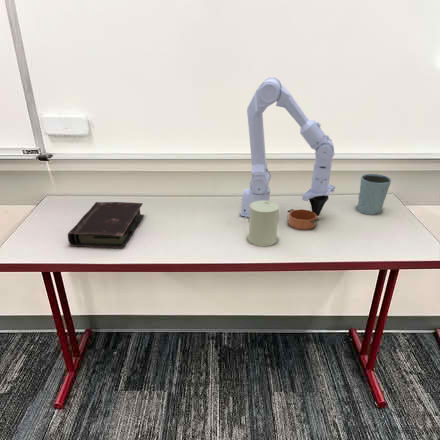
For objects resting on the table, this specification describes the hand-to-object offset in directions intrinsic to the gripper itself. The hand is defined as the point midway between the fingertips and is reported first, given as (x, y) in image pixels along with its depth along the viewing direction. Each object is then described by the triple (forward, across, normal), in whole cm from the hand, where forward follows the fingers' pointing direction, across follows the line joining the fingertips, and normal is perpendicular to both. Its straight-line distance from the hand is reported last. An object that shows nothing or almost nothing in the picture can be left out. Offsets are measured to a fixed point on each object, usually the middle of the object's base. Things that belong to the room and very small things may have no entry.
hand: (315, 215), depth 149 cm
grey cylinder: (+2, +22, -7) cm, 23 cm away
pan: (+1, -7, 0) cm, 7 cm away
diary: (+2, -61, +37) cm, 71 cm away
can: (+2, -26, 0) cm, 26 cm away
